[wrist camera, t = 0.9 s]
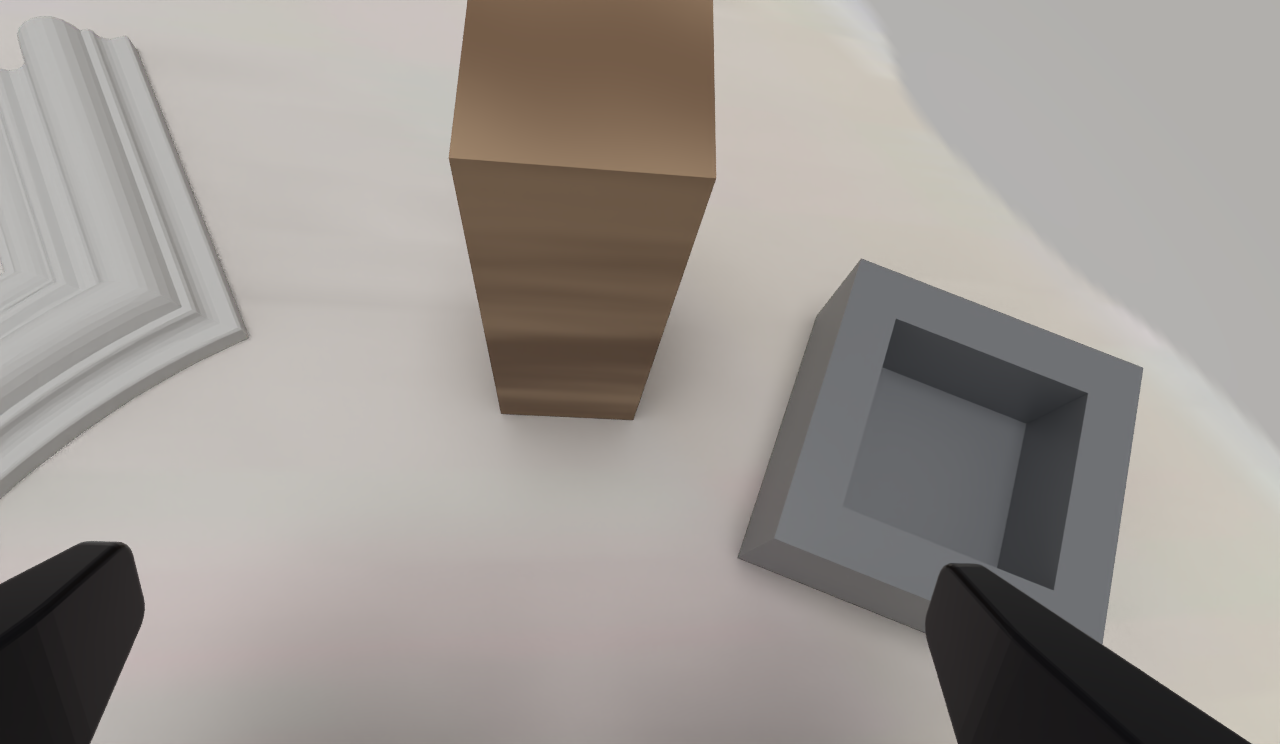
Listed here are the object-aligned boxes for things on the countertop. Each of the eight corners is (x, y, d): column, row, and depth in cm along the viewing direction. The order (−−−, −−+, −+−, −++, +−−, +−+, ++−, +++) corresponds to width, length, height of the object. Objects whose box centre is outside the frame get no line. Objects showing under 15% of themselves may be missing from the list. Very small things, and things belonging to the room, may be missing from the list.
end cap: (1008, 666, 23) (1098, 668, 19) (737, 557, 23) (773, 538, 19) (1057, 409, 26) (1143, 368, 22) (816, 316, 26) (861, 258, 22)
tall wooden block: (633, 419, 24) (716, 178, 12) (501, 413, 24) (448, 158, 12) (635, 301, 26) (712, -24, 13) (511, 293, 25) (473, -48, 13)
